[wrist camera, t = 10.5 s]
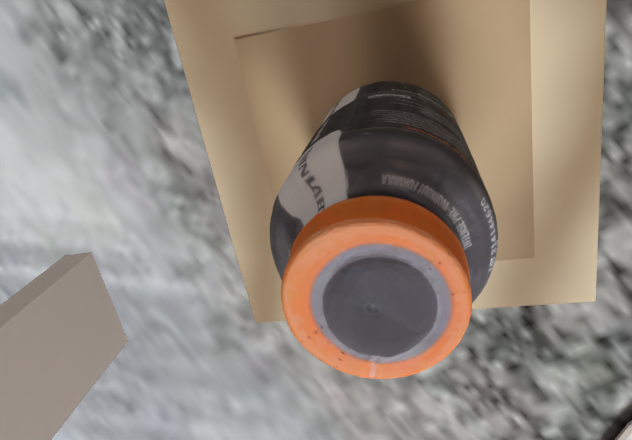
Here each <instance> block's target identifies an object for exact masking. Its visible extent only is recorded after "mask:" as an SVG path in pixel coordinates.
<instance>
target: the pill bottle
mask: <svg viewBox="0 0 632 440" xmlns="http://www.w3.org/2000/svg"><path fill="white" fill-rule="evenodd" d="M270 245H271V251H272V256H273V260H274V263H275V266H276V268H277V271H278V273H279V276H280V278H281V280H282V284H281V301H282V308H283V312H284V315H285V318H286V321H287V323H288V325H289V327H290V329H291V331H292V333H293V334H294V336H295V337H296V338H297V340H298V341H299V342H300V343H301V344H302V345H303V347H304V348H305V349H306V350H308V351H309V352H310V353H311V354H312V355H314V356H315V357H316V358H318V359H319V360H321V361H322V362H324V363H325V364H327V365H329V366H332V367H333V368H335V369H337V370H340V371H342V372H345V373H348V374H352V375H355V376H358V377H364V378H375V379H388V378H397V377H404V376H409V375H412V374H416V373H418V372H421V371H423V370H426V369H427V368H429V367H431V366H433V365H435V364H436V363H438V362H439V361H441V360H442V359H443V358H445V357H446V356H447V355H448V354H449V353H450V352H451V351H452V350H453V349H454V348H455V347H456V346H457V344H458V343H459V342H460V340H461V338H462V337H463V335H464V333H465V331H466V328H467V326H468V324H469V320H470V316H471V312H472V303H473V302H474V301H475V300H476V299H477V297H478V296H479V294H480V293H481V292H482V291H483V289H484V287H485V285H486V284H487V281H488V279H489V277H490V274H491V272H492V269H493V266H494V263H495V259H496V254H497V245H498V229H497V220H496V215H495V212H494V208H493V205H492V202H491V199H490V197H489V194H488V192H487V190H486V187H485V185H484V183H483V180H482V178H481V176H480V173H479V171H478V169H477V166H476V163H475V161H474V159H473V157H472V154H471V152H470V150H469V147H468V145H467V143H466V141H465V138H464V136H463V134H462V132H461V129H460V127H459V126H458V124H457V122H456V119H455V117H454V116H453V114H452V112H451V111H450V109H449V108H448V107H447V106H446V105H445V104H444V103H443V102H442V101H441V100H440V99H439V98H438V97H436V96H435V95H434V94H432V93H431V92H429V91H427V90H426V89H424V88H422V87H420V86H416V85H412V84H408V83H405V82H400V81H378V82H374V83H370V84H367V85H364V86H361V87H359V88H357V89H356V90H354V91H352V92H350V93H349V94H347V95H346V96H345V97H343V98H342V99H341V100H340V101H339V102H337V103H336V105H335V106H334V107H333V108H332V109H331V110H330V112H329V113H328V115H327V116H326V118H325V119H324V121H323V122H322V124H321V126H320V127H319V129H318V130H317V131H316V133H315V134H314V136H313V137H312V139H311V141H310V142H309V144H308V145H307V146H306V148H305V150H304V151H303V153H302V155H301V156H300V157H299V159H298V160H297V162H296V164H295V165H294V167H293V169H292V171H291V172H290V174H289V176H288V177H287V179H286V180H285V182H284V184H283V185H282V187H281V189H280V191H279V193H278V195H277V197H276V200H275V202H274V206H273V211H272V215H271V221H270Z"/></svg>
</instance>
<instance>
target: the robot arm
mask: <svg viewBox="0 0 632 440" xmlns="http://www.w3.org/2000/svg"><path fill="white" fill-rule="evenodd" d="M127 341H128V340H127V337H126V335H125V332H124V330H123V328H122V325H121V323H120V320H119V318H118V316H117V313H116V311H115V308H114V306H113V303H112V301H111V299H110V296H109V294H108V291H107V289H106V287H105V284H104V282H103V279H102V277H101V274H100V272H99V270H98V267H97V265H96V262H95V260H94V257H93V255H92V253H91V252H90V253H82V254H74V255H65V256H64V257H63V258H61V259H60V260H59V261H57V262H56V263H55V264H53V265H52V266H51V267H50V268H48V269H47V270H46V271H44V272H43V273H42V274H41V275H39V276H38V277H37V278H35V279H34V280H33V281H31V282H30V283H29V284H28V285H26V286H25V287H24V288H22V289H21V290H20V291H18V292H17V293H16V294H15V295H13V296H12V297H11V298H9V299H8V300H7V301H6V302H4V303H3V304H2V305H0V440H51V439H52V438H53V437H54V435H55V434H56V433H57V431H58V430H59V429H60V428H61V426H62V425H63V424H64V422H65V421H66V420H67V419H68V417H69V416H70V415H71V413H72V412H73V411H74V410H75V408H76V407H77V406H78V404H79V403H80V402H81V401H82V399H83V398H84V397H85V395H86V394H87V393H88V392H89V390H90V389H91V388H92V386H93V385H94V384H95V383H96V381H97V380H98V379H99V377H100V376H101V375H102V374H103V372H104V371H105V370H106V368H107V367H108V366H109V365H110V363H111V362H112V361H113V359H114V358H115V357H116V356H117V354H118V353H119V352H120V350H121V349H122V348H123V347H124V345H125V344H126V343H127Z"/></svg>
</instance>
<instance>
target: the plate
mask: <svg viewBox="0 0 632 440" xmlns="http://www.w3.org/2000/svg"><path fill="white" fill-rule="evenodd" d="M615 440H632V421H630V422H629V423H628V424H627V425H626V426H625V427H624V429H623V430H622V431H621V432H620V434H619V435H618V436H617V437H616V439H615Z"/></svg>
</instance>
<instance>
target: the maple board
mask: <svg viewBox="0 0 632 440" xmlns="http://www.w3.org/2000/svg"><path fill="white" fill-rule="evenodd" d="M164 2H165V5H166V9H167V12H168V16H169V19H170V23H171V26H172V30H173V34H174V37H175V41H176V44H177V48H178V51H179V55H180V58H181V62H182V65H183V69H184V72H185V76H186V79H187V83H188V86H189V90H190V93H191V97H192V100H193V104H194V108H195V111H196V115H197V118H198V122H199V125H200V129H201V132H202V136H203V139H204V143H205V146H206V150H207V153H208V157H209V160H210V164H211V167H212V171H213V175H214V178H215V182H216V185H217V189H218V192H219V196H220V199H221V203H222V206H223V210H224V213H225V217H226V220H227V224H228V227H229V231H230V234H231V238H232V241H233V245H234V249H235V252H236V256H237V259H238V263H239V266H240V270H241V273H242V277H243V280H244V284H245V287H246V291H247V294H248V298H249V301H250V305H251V308H252V312H253V316H254V319H255V323H256V322H272V321H286V318H285V315H284V312H283V308H282V301H281V284H282V280H281V278H280V276H279V273H278V271H277V268H276V266H275V263H274V260H273V256H272V251H271V245H270V221H271V215H272V211H273V206H274V202H275V200H276V197H277V195H278V193H279V191H280V189H281V187H282V185H283V184H284V182H285V180H286V179H287V177H288V176H289V174H290V172H291V171H292V169H293V167H294V165H295V164H296V162H297V160H298V159H299V157H300V156H301V155H302V153H303V151H304V150H305V148H306V146H307V145H308V144H309V142H310V141H311V139H312V137H313V136H314V134H315V133H316V131H317V130H318V129H319V127H320V126H321V124H322V122H323V121H324V119H325V118H326V116H327V115H328V113H329V112H330V110H331V109H332V108H333V107H334V106H335V105H336V103H337V102H339V101H340V100H341V99H342V98H343V97H345V96H346V95H347V94H349V93H350V92H352V91H354V90H356V89H357V88H359V87H361V86H364V85H367V84H370V83H374V82H378V81H400V82H405V83H408V84H412V85H416V86H420V87H422V88H424V89H426V90H427V91H429V92H431V93H432V94H434V95H435V96H436V97H438V98H439V99H440V100H441V101H442V102H443V103H444V104H445V105H446V106H447V107H448V108H449V109H450V111H451V112H452V114H453V116H454V117H455V119H456V122H457V124H458V126H459V127H460V129H461V132H462V134H463V136H464V138H465V141H466V143H467V145H468V147H469V150H470V152H471V154H472V157H473V159H474V161H475V163H476V166H477V169H478V171H479V173H480V176H481V178H482V180H483V183H484V185H485V187H486V190H487V192H488V194H489V197H490V199H491V202H492V205H493V208H494V212H495V215H496V220H497V229H498V245H497V254H496V259H495V263H494V266H493V269H492V272H491V274H490V277H489V279H488V281H487V284H486V285H485V287H484V289H483V291H482V292H481V293H480V294H479V296H478V297H477V299H476V300H475V301H474V302H473V303H472V309H480V308H496V307H512V306H528V305H544V304H560V303H576V302H592V301H596V274H597V246H598V219H599V192H600V165H601V138H602V111H603V84H604V57H605V30H606V3H607V0H164Z"/></svg>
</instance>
